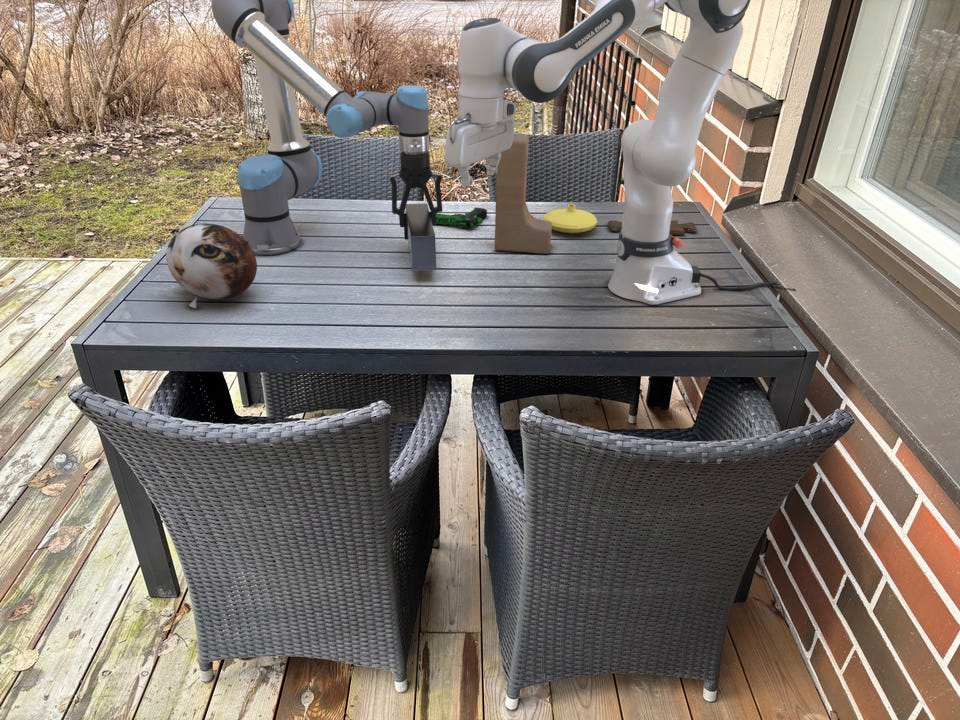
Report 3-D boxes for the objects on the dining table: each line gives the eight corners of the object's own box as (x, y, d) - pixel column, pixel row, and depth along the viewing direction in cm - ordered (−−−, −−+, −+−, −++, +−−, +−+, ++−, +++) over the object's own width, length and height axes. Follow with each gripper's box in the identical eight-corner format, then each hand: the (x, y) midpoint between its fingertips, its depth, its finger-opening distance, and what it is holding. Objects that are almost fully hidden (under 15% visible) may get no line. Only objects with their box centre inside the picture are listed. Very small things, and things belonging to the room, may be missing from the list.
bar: (406, 235, 196) (405, 204, 192) (428, 234, 197) (427, 203, 192) (412, 271, 175) (410, 236, 171) (436, 269, 176) (435, 235, 171)
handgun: (493, 208, 218) (473, 222, 206) (492, 217, 219) (473, 231, 207) (445, 201, 223) (423, 215, 211) (445, 211, 225) (423, 224, 212)
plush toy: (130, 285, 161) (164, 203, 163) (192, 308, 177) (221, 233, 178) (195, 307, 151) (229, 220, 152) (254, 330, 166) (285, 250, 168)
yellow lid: (559, 216, 220) (561, 193, 217) (605, 227, 212) (608, 204, 209) (532, 230, 209) (533, 207, 206) (580, 242, 201) (582, 218, 198)
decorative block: (549, 254, 193) (556, 142, 178) (494, 251, 195) (497, 139, 180) (550, 244, 200) (558, 135, 184) (497, 241, 201) (500, 132, 186)
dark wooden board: (699, 237, 207) (691, 225, 216) (700, 231, 206) (692, 220, 215) (610, 234, 207) (606, 222, 216) (611, 228, 207) (607, 217, 215)
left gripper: (377, 156, 177) (383, 244, 189) (453, 153, 180) (454, 240, 191) (377, 148, 184) (382, 234, 195) (450, 146, 186) (451, 231, 198)
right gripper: (464, 121, 131) (463, 195, 138) (520, 103, 146) (517, 171, 153) (436, 117, 134) (437, 189, 141) (494, 99, 149) (492, 166, 156)
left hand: (418, 237), depth 193 cm, fingers closed on bar, 6 cm apart
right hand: (479, 179), depth 147 cm, fingers open, 8 cm apart
